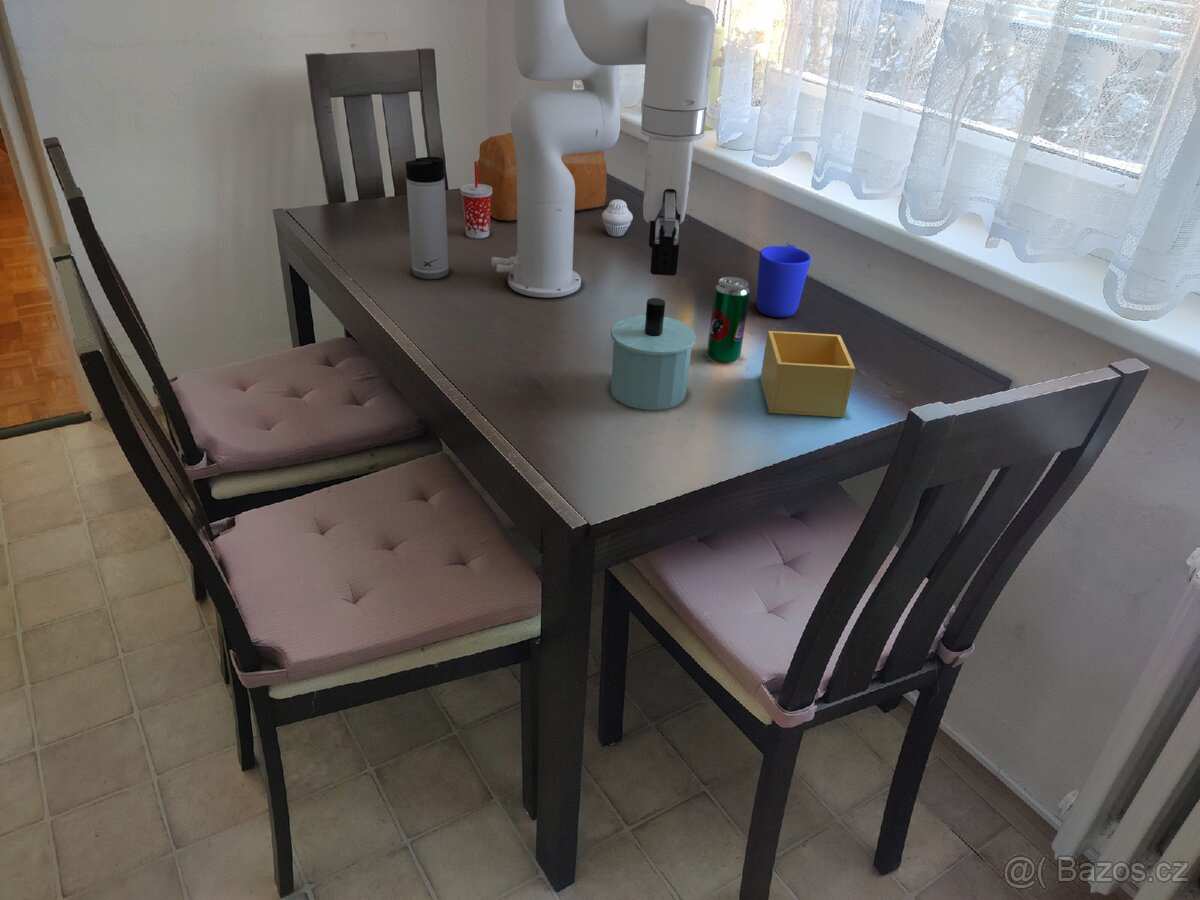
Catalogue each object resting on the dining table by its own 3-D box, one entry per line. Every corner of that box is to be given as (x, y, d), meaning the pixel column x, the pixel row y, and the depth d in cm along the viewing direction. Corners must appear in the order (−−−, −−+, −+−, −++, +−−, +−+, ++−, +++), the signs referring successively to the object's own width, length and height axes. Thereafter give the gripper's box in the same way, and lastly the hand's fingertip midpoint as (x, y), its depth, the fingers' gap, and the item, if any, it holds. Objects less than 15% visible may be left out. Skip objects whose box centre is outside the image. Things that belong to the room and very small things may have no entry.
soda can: (738, 366, 132) (750, 291, 126) (704, 362, 133) (714, 286, 126) (741, 352, 136) (752, 277, 130) (708, 347, 137) (717, 273, 131)
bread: (611, 208, 191) (615, 132, 183) (501, 225, 179) (501, 144, 170) (578, 190, 201) (580, 117, 192) (472, 205, 189) (469, 128, 180)
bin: (769, 413, 121) (777, 363, 117) (760, 377, 130) (768, 330, 126) (844, 417, 121) (855, 368, 117) (830, 381, 130) (840, 334, 126)
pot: (610, 407, 120) (613, 351, 116) (611, 371, 129) (615, 317, 124) (687, 412, 120) (693, 355, 116) (683, 375, 129) (689, 321, 124)
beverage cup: (497, 238, 173) (496, 165, 165) (466, 241, 171) (463, 167, 163) (488, 227, 177) (486, 156, 170) (458, 230, 175) (455, 158, 168)
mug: (807, 298, 155) (817, 243, 150) (796, 325, 146) (807, 267, 140) (760, 290, 157) (769, 235, 152) (747, 316, 148) (755, 258, 142)
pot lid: (609, 356, 115) (611, 317, 112) (611, 319, 125) (613, 282, 122) (697, 361, 115) (702, 322, 112) (692, 324, 125) (696, 287, 122)
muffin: (597, 236, 176) (599, 201, 172) (604, 227, 181) (606, 192, 178) (628, 240, 175) (630, 205, 171) (634, 230, 180) (636, 196, 176)
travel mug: (434, 283, 153) (427, 164, 142) (405, 273, 156) (396, 157, 145) (457, 272, 157) (453, 157, 146) (429, 263, 160) (422, 149, 149)
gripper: (640, 104, 113) (632, 237, 122) (642, 136, 98) (633, 284, 107) (700, 107, 113) (687, 239, 122) (710, 139, 98) (695, 287, 107)
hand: (661, 260), depth 114 cm, fingers open, 9 cm apart
